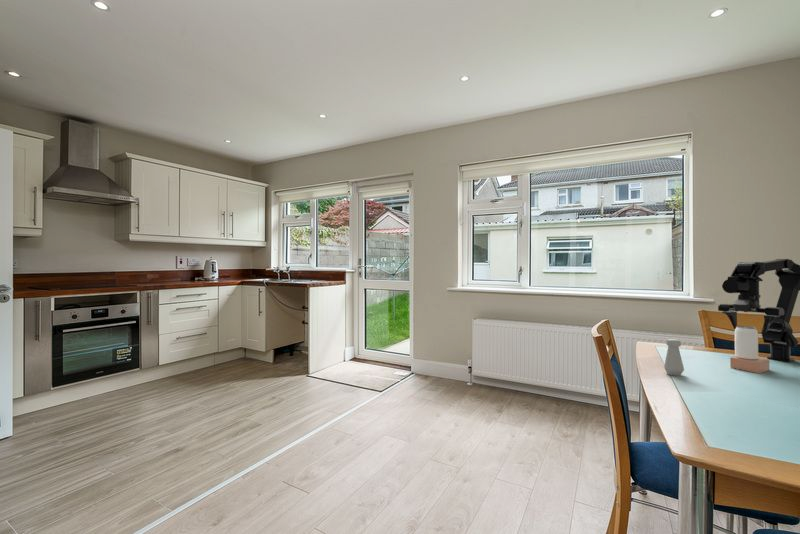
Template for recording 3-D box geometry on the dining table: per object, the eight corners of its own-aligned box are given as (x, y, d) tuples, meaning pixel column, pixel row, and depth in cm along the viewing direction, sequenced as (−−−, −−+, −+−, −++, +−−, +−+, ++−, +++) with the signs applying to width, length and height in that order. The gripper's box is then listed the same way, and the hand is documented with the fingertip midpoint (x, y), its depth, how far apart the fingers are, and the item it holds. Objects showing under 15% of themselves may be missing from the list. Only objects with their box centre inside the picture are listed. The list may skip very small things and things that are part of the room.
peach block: (740, 364, 142) (740, 354, 142) (769, 370, 134) (769, 359, 134) (730, 367, 138) (730, 357, 138) (759, 373, 130) (759, 362, 130)
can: (747, 360, 133) (747, 328, 133) (730, 356, 140) (729, 325, 140) (763, 359, 134) (762, 328, 134) (745, 355, 140) (744, 325, 140)
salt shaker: (688, 376, 128) (687, 341, 128) (672, 377, 128) (671, 341, 128) (675, 371, 134) (675, 337, 134) (660, 372, 134) (660, 337, 134)
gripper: (711, 292, 150) (711, 328, 150) (772, 295, 133) (772, 336, 133) (724, 290, 154) (724, 326, 155) (784, 293, 138) (785, 333, 138)
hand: (749, 330), depth 145 cm, fingers open, 9 cm apart
